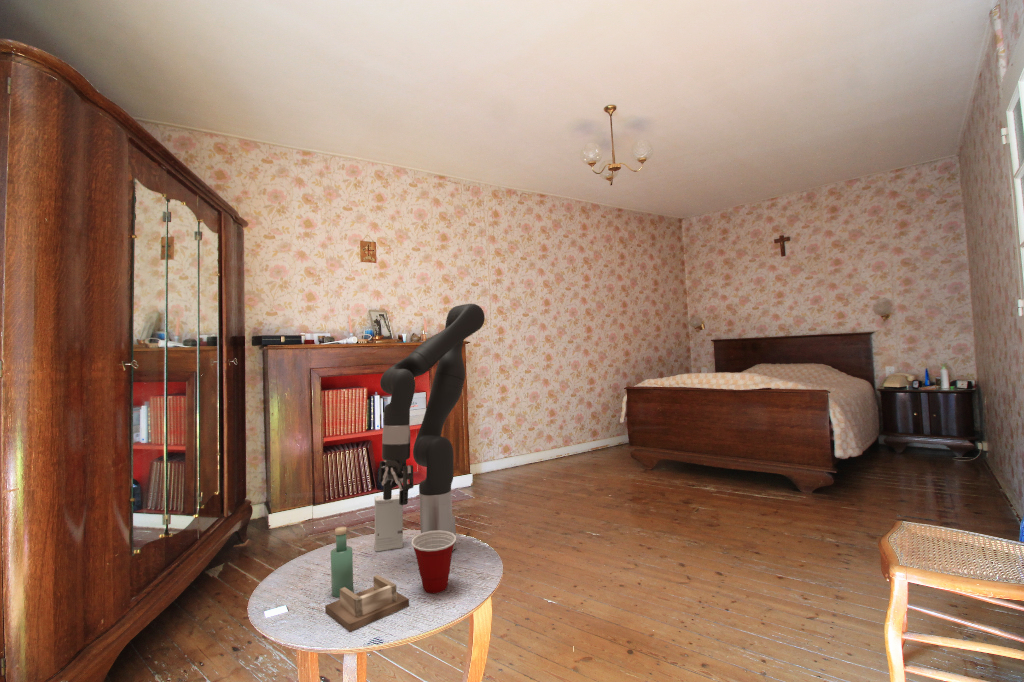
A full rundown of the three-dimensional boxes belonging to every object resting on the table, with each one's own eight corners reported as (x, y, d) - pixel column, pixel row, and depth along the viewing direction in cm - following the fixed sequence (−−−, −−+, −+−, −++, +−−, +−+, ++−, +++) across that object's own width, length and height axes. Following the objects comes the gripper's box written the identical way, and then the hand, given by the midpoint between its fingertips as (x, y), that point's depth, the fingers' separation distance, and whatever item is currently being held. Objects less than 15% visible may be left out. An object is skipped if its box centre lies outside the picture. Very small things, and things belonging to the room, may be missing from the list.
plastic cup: (414, 602, 110) (413, 549, 111) (411, 582, 120) (409, 533, 121) (461, 594, 113) (459, 542, 114) (454, 575, 124) (452, 527, 124)
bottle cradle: (382, 589, 117) (381, 568, 118) (409, 605, 109) (408, 583, 109) (325, 612, 108) (324, 589, 108) (349, 631, 99) (349, 606, 99)
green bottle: (347, 585, 121) (346, 523, 121) (357, 591, 117) (355, 527, 118) (328, 592, 117) (326, 528, 118) (337, 599, 114) (335, 533, 114)
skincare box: (375, 552, 142) (373, 501, 143) (374, 545, 148) (373, 496, 148) (404, 547, 144) (402, 497, 145) (402, 541, 150) (401, 492, 151)
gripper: (422, 442, 131) (421, 504, 129) (395, 438, 141) (394, 495, 139) (397, 444, 125) (396, 509, 124) (371, 440, 136) (369, 500, 134)
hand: (395, 502), depth 132 cm, fingers open, 8 cm apart
